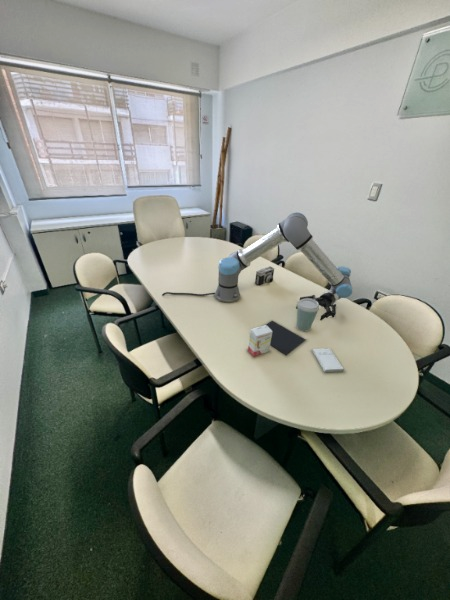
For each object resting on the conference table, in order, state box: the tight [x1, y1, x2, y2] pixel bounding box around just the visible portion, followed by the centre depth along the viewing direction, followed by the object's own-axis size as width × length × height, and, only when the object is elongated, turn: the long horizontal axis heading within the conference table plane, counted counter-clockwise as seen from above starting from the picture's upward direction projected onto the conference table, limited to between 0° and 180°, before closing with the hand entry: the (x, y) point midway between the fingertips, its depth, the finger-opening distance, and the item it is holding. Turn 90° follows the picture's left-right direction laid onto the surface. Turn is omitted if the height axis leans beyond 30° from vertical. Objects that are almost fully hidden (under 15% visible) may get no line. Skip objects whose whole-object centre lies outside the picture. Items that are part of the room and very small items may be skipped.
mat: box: [265, 320, 306, 356], centre depth 117 cm, size 20×16×1 cm
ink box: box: [247, 324, 272, 358], centre depth 105 cm, size 9×5×12 cm, turn 116°
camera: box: [254, 266, 275, 287], centre depth 164 cm, size 14×8×10 cm, turn 130°
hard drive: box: [312, 347, 345, 373], centre depth 104 cm, size 2×8×12 cm
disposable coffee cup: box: [296, 298, 320, 332], centre depth 121 cm, size 11×11×15 cm
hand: (308, 312), depth 122 cm, fingers open, 13 cm apart
